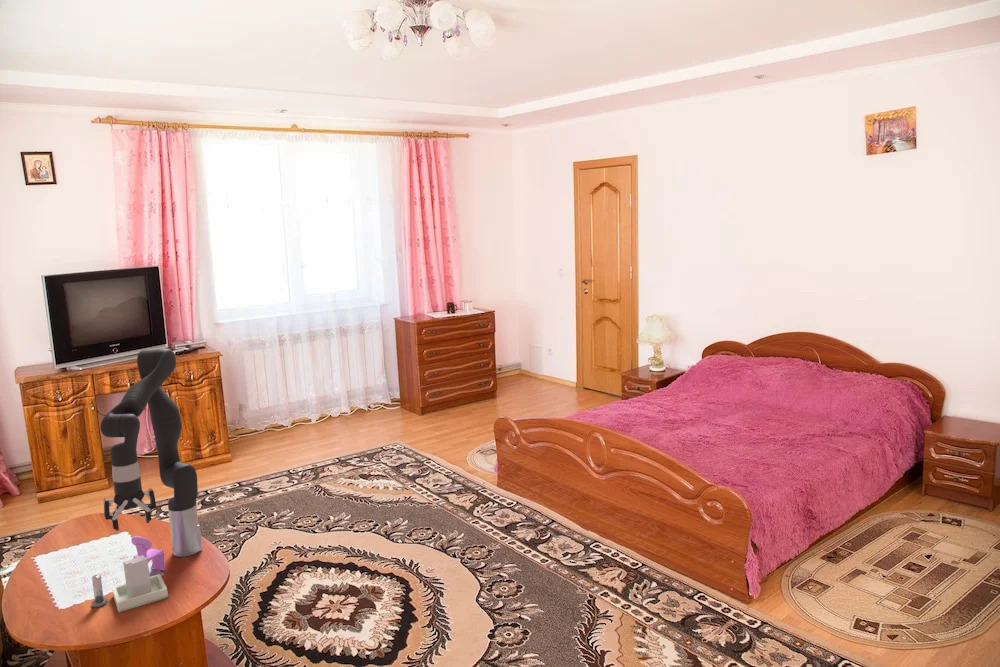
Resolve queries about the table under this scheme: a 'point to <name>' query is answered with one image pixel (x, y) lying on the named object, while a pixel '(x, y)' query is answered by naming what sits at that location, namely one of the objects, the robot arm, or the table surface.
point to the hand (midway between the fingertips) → (132, 526)
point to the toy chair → (148, 552)
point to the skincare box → (137, 576)
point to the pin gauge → (98, 592)
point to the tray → (128, 603)
